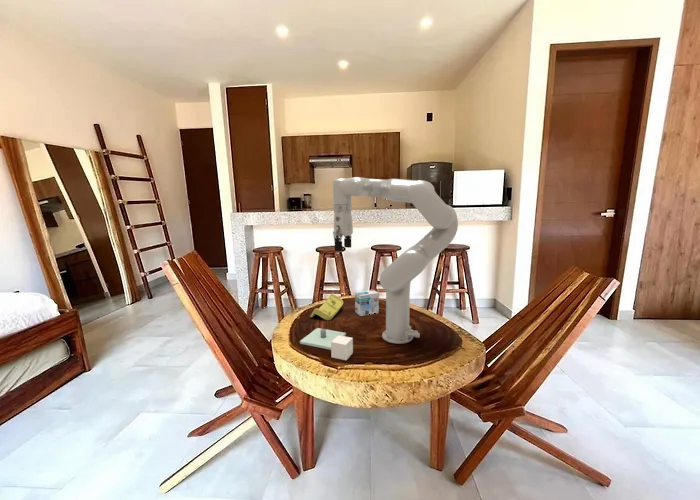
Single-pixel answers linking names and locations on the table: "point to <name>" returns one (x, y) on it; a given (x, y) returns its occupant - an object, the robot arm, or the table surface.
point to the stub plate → (321, 338)
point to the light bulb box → (366, 302)
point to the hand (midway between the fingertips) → (343, 249)
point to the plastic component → (328, 308)
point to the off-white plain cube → (342, 347)
